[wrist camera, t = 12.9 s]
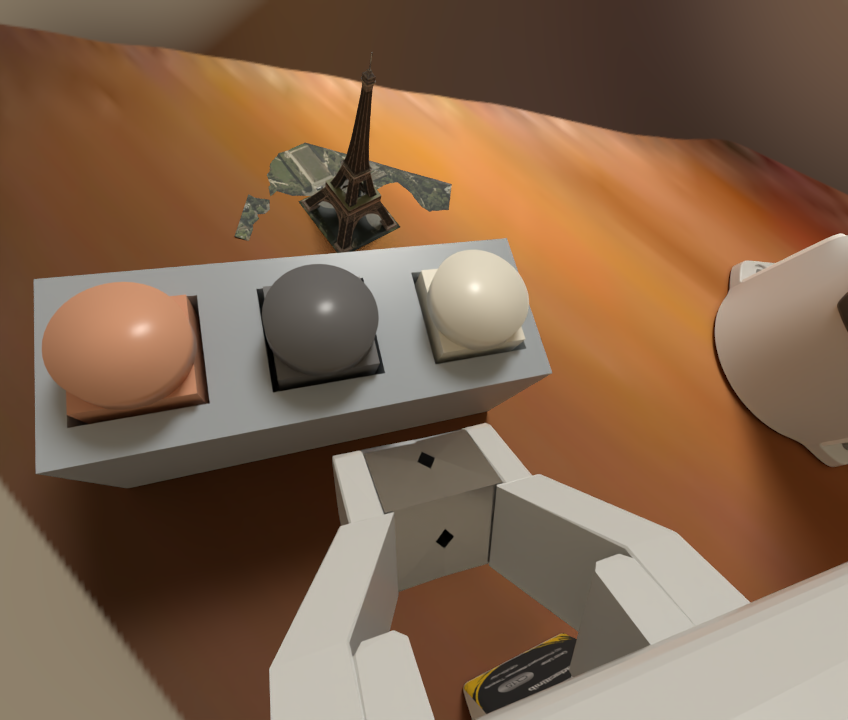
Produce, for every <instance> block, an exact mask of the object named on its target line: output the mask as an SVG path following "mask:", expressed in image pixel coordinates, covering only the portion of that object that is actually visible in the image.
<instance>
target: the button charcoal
mask: <svg viewBox="0 0 848 720" xmlns="http://www.w3.org/2000/svg"><path fill="white" fill-rule="evenodd" d="M263 292H264V298H265V299H264V303H263V308H262V320H263V325H264V329H265V334H266V338H267V341H268V343H269V346H270V348H271V349H272V351H273V353H274V359H275V365H276V371H277V377H278V383H279V387H280V391H285V390H290V389H296V388H302V387H308V386H313V385H319V384H325V383H331V382H337V381H342V380H348V379H354V378H360V377H366V376H371V375H375V372H376V370H377V368H378V366H379V364H380V362H379V358H378V353H377V349H376V344H375V340H374V337H375V335H376V332H377V328H378V321H379V313H378V307H377V304H376V301H375V298H374V296H373V294H372V293H371V291H370V289H369V288H368V287H367V286H366V284H365V283H364V282H363V281H362V280H361V279H360V277H357V276H355V275H354V274H352V273H351V272H349V271H347V270H345V269H342V268H340V267H336V266H333V265H327V264H310V265H304V266H300V267H297V268H295V269H292V270H290V271H288V272H287V273H285V274H283V275H282V276H281V277H279V278H278V279H277V280H276V281H275V282H274V283H273V285H272V286H264V287H263Z"/></svg>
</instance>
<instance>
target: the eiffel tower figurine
mask: <svg viewBox="0 0 848 720" xmlns="http://www.w3.org/2000/svg"><path fill="white" fill-rule="evenodd" d="M372 53H373V52H371V60H372ZM371 60H370V68H371ZM370 68H369V69H368V70H367V71H366V72H363V73H362V77H361V81H362V89H361V95H360V100H359V105H358V109H357V114H356V119H355V124H354V128H353V133H352V137H351V141H350V145H349V148H348V152H347V154H344V153H340V152H337V151H333V150H330V149H326V148H322V147H319V146H315V145H311V144H308V143H304V144H301V145H299V146H296V147H294V148H292V149H290V150H288V151H285V152H282V153H279V154H278V156H277V157H276V158H275V159H274V160H273V161H272V162H271V164H270V172H269V173H268V174H267V176H268V179H269V182H270V186H269V191H270V196H271V195H273V194H274V193H275V192H276V191H279V192H282V193H285V194H289V195H292V196H296V195H297V196H310V197H308V198H305V199H303V200H301V201H299V203H300V204H301V206H302V207H303V208H304V209H305V211H306V212H307V213H308V215H309V216H310V217H311V219H312V220H313V221H314V223H315V224H316V225H317V227H318V228H319V229H320V230H321V232H322V233H323V234H324V236H325V237H326V238H327V240H328V241H329V242H330V244H331V245H332V246H333V248H334V249H335V250H336V252H337V253H344V252H353V251H355V250H357V249H359V248H361V247H363V246H364V245H366V244H368V243H370V242H372V241H374V240H376V239H378V238H380V237H382V236H384V235H386V234H388V233H390V232H392V231H394V230H396V229H398V228H400V226H399V225H398V223H397V222H396V221H395V220H394V218H393V217H392V216H391V214H390V213H389V212H388V211H387V209H386V208H385V207H384V206H383V204H382V203H381V202H380V199H381V195H380V193H379V192H378V191H377V189H379V188H380V187H382V186H383V185H386V184H389V183H394V182H398V183H399V184H401V185H402V186H403V187H404V188H406V189H407V190H408V191H409V192H411V193H412V195H413V196H414V198H415V199H416V200H417V202H418V203H419V204H420V205H421V206H422V207H423V208H425V209H426V210H428V211H429V212H430V211H432V210H433V211H439V210H449V201H450V193H451V185H452V184H449V183H446V182H442V181H439V180H435V179H432V178H428V177H424V176H421V175H417V174H413V173H410V172H406V171H403V170H399V169H396V168H392V167H389V166H386V165H382V164H379V163H376V162H372V161H369V132H370V115H371V100H372V89H373V85H374V84H375V83H376V81H375V78H376V77H375V76H374V74H373V73H372V70H371V69H370ZM268 210H270V207H269V200H267V199H259V198H254V197H252V196H251V195H249V194H248V198H247V201H246V204H245V207H244V210H243V213H242V216H241V219H240V222H239V225H238V228H237V231H236V234H235V237H238V238H241V239H244V240H248V241H249V239H250V236H251V233H252V230H253V224H254V223H255V222H256V221H257V220H258V219H259V218H258V216H257V214H265V213H266V212H267V211H268Z"/></svg>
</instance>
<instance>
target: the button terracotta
mask: <svg viewBox="0 0 848 720" xmlns="http://www.w3.org/2000/svg"><path fill="white" fill-rule="evenodd" d="M42 358H43V361H44V365H45V367H46V369H47V371H48V373H49V375H50V376H51V377H52V379H53V380H54V381H55V382H56V383H57V384H58V385H59V386H60V387H62V388H63V389H64V390H66V411H67V415H68V416H71V417H73V418H75V419H78V420H80V421H82V422H85V423H87V424H94V423H99V422H105V421H111V420H117V419H122V418H128V417H134V416H140V415H146V414H151V413H157V412H163V411H169V410H175V409H180V408H186V407H192V406H198V405H203V404H209V403H210V401H209V393H208V384H207V376H206V367H205V359H204V351H203V342H202V334H201V325H200V319H199V317H198V315H197V314H196V312H195V310H194V308H193V306H192V305H191V303H190V301H189V299H188V297H187V295H176V296H168V295H167V294H166V293H164V292H162V291H160V290H159V289H156V288H154V287H151V286H148V285H145V284H140V283H134V282H113V283H106V284H102V285H98V286H95V287H92V288H89V289H87V290H84V291H82V292H80V293H78V294H77V295H75V296H74V297H72V298H70V299H69V300H68V301H67V302H65V303H64V304H63V305H62V306H61V307H60V308H59V309H58V310H57V311H56V312H55V314H54V315H53V316H52V318H51V319H50V321H49V323H48V324H47V327H46V329H45V332H44V335H43V339H42Z"/></svg>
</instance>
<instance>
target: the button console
mask: <svg viewBox="0 0 848 720" xmlns="http://www.w3.org/2000/svg"><path fill="white" fill-rule="evenodd" d="M464 250H482V251H487V252H490V253H493V254H495V255H497V256H499V257H501V258H502V259H504V260H505V261H507V262H508V263H509V264H510V265H512V266H513V267H514V268H515V270H516V271H517V272H518V270H517V267H516V264H515V261H514V258H513V255H512V252H511V249H510V246H509V244H508V241H507V238H505V239H494V240H482V241H471V242H459V243H448V244H436V245H425V246H413V247H401V248H390V249H378V250H367V251H355V252H344V253H332V254H321V255H309V256H298V257H286V258H275V259H263V260H252V261H240V262H228V263H217V264H205V265H194V266H182V267H171V268H159V269H148V270H136V271H125V272H113V273H102V274H90V275H78V276H67V277H55V278H44V279H34V343H35V439H36V474H40V475H47V476H53V477H59V478H65V479H72V480H78V481H84V482H90V483H97V484H103V485H109V486H115V487H121V488H132V487H137V486H141V485H146V484H151V483H155V482H160V481H165V480H169V479H174V478H179V477H183V476H188V475H193V474H197V473H202V472H207V471H211V470H216V469H221V468H225V467H230V466H235V465H239V464H244V463H249V462H253V461H258V460H263V459H267V458H272V457H277V456H281V455H286V454H291V453H295V452H300V451H305V450H309V449H314V448H319V447H323V446H328V445H333V444H337V443H342V442H346V441H351V440H356V439H360V438H365V437H370V436H374V435H379V434H384V433H388V432H393V431H398V430H402V429H407V428H412V427H416V426H421V425H426V424H430V423H435V422H440V421H444V420H449V419H454V418H458V417H463V416H468V415H472V414H477V413H482V412H486V411H489V410H491V409H492V408H494V407H496V406H497V405H499V404H501V403H502V402H504V401H506V400H507V399H509V398H511V397H512V396H514V395H516V394H518V393H519V392H521V391H523V390H524V389H526V388H528V387H529V386H531V385H533V384H534V383H536V382H538V381H539V380H541V379H543V378H545V377H546V376H548V375H550V374H551V373H552V371H551V368H550V365H549V362H548V359H547V356H546V353H545V350H544V347H543V344H542V341H541V338H540V335H539V332H538V329H537V326H536V323H535V320H534V317H533V315H532V312H531V309H530V306H529V309H528V314H527V317H526V319H525V321H524V323H523V325H522V326H521V327H522V330H523V333H524V336H525V340H524V341H523V342H522V343H520V344H519V345H518V346H517V347H515V348H514V349H513V350H512V351H510V352H505V353H499V354H493V355H487V356H481V357H476V358H470V359H464V360H458V361H452V362H447V363H441V364H435V361H434V357H433V353H432V349H431V345H430V342H429V338H428V334H427V330H426V327H425V323H424V319H423V315H422V312H421V308H420V304H419V300H418V297H417V293H416V289H415V283H416V281H417V279H418V276H419V274H420V272H421V270H429V269H438V268H439V266H440V265H441V264H442V263H443V261H444V260H446V259H447V258H448V257H449V256H451V255H453V254H455V253H457V252H460V251H464ZM310 264H327V265H333V266H336V267H340V268H342V269H345V270H347V271H349V272H351V273H352V274H354V275H355V276H357V277H360V279H361V280H362V281H363V282H364V283H365V284H366V286H367V287H368V288H369V289H370V291H371V293H372V294H373V296H374V298H375V301H376V304H377V307H378V313H379V321H378V328H377V332H376V335H375V337H374V340H375V344H376V349H377V353H378V358H379V362H380V364H379V366H378V368H377V370H376V372H375V375H371V376H366V377H360V378H354V379H348V380H342V381H337V382H331V383H325V384H319V385H313V386H308V387H302V388H296V389H290V390H285V391H280V387H279V383H278V377H277V371H276V365H275V359H274V353H273V351H272V349H271V348H270V346H269V343H268V341H267V338H266V334H265V329H264V325H263V320H262V308H263V303H264V299H265V298H264V292H263V287H264V286H272V285H273V283H274V282H275V281H276V280H277V279H278V278H279V277H281V276H282V275H283V274H285V273H287V272H288V271H290V270H292V269H295V268H297V267H300V266H304V265H310ZM113 282H134V283H140V284H145V285H148V286H151V287H154V288H156V289H159V290H160V291H162V292H164V293H166V294H167V295H168V296H176V295H187V297H188V299H189V301H190V303H191V305H192V306H193V308H194V310H195V312H196V314H197V315H198V317H199V319H200V325H201V334H202V342H203V351H204V359H205V367H206V376H207V384H208V393H209V401H210V403H209V404H203V405H198V406H192V407H186V408H180V409H175V410H169V411H163V412H157V413H151V414H146V415H140V416H134V417H128V418H122V419H117V420H111V421H105V422H99V423H94V424H87V423H85V422H82V421H80V420H78V419H75V418H73V417H71V416H68V415H67V411H66V390H64V389H63V388H62V387H60V386H59V385H58V384H57V383H56V382H55V381H54V380H53V379H52V377H51V376H50V375H49V373H48V371H47V369H46V367H45V365H44V361H43V358H42V339H43V335H44V332H45V329H46V327H47V324H48V323H49V321H50V319H51V318H52V316H53V315H54V314H55V312H56V311H57V310H58V309H59V308H60V307H61V306H62V305H63V304H64V303H65V302H67V301H68V300H69V299H70V298H72V297H74V296H75V295H77V294H78V293H80V292H82V291H84V290H87V289H89V288H92V287H95V286H98V285H102V284H106V283H113Z"/></svg>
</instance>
